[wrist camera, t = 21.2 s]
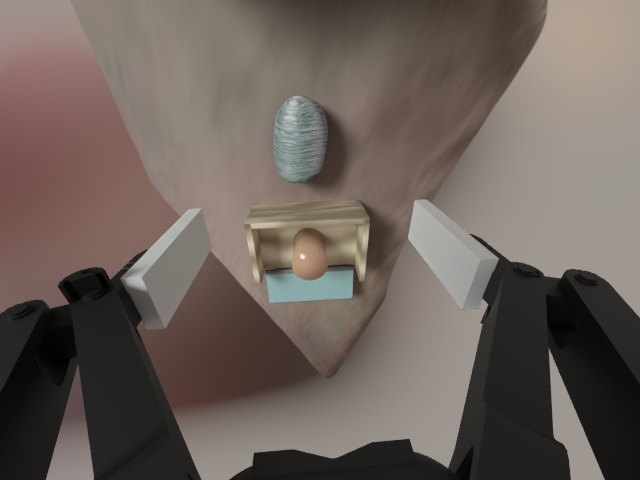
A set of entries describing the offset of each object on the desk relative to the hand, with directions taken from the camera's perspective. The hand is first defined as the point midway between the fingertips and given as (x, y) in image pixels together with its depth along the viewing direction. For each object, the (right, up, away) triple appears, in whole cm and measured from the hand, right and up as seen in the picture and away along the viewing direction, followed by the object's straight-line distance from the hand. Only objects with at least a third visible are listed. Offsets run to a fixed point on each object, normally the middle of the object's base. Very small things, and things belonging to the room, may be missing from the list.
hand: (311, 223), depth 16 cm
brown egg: (-2, -1, +37) cm, 37 cm away
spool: (-3, +17, +30) cm, 35 cm away
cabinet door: (-2, -8, +41) cm, 41 cm away
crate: (-2, +1, +39) cm, 39 cm away
